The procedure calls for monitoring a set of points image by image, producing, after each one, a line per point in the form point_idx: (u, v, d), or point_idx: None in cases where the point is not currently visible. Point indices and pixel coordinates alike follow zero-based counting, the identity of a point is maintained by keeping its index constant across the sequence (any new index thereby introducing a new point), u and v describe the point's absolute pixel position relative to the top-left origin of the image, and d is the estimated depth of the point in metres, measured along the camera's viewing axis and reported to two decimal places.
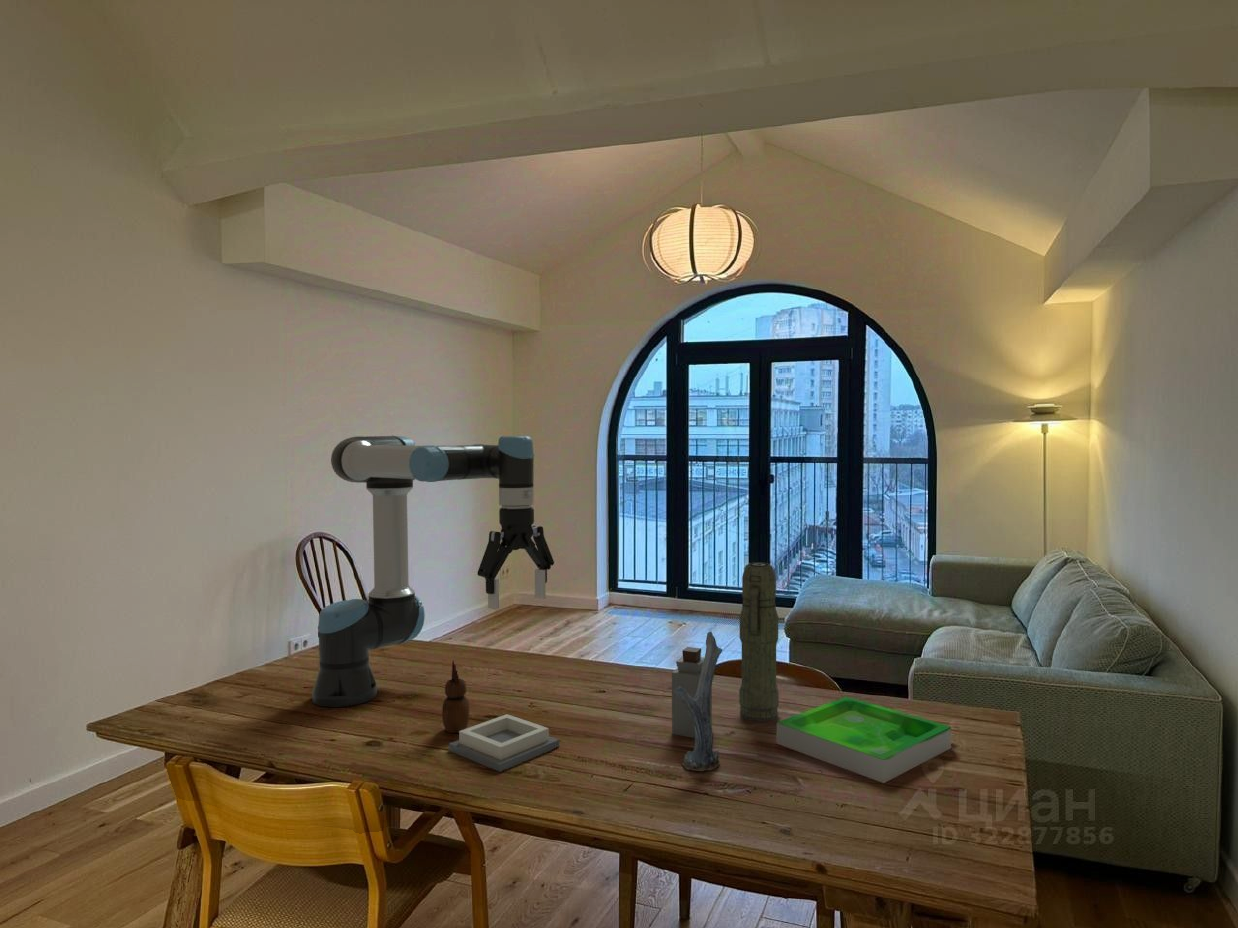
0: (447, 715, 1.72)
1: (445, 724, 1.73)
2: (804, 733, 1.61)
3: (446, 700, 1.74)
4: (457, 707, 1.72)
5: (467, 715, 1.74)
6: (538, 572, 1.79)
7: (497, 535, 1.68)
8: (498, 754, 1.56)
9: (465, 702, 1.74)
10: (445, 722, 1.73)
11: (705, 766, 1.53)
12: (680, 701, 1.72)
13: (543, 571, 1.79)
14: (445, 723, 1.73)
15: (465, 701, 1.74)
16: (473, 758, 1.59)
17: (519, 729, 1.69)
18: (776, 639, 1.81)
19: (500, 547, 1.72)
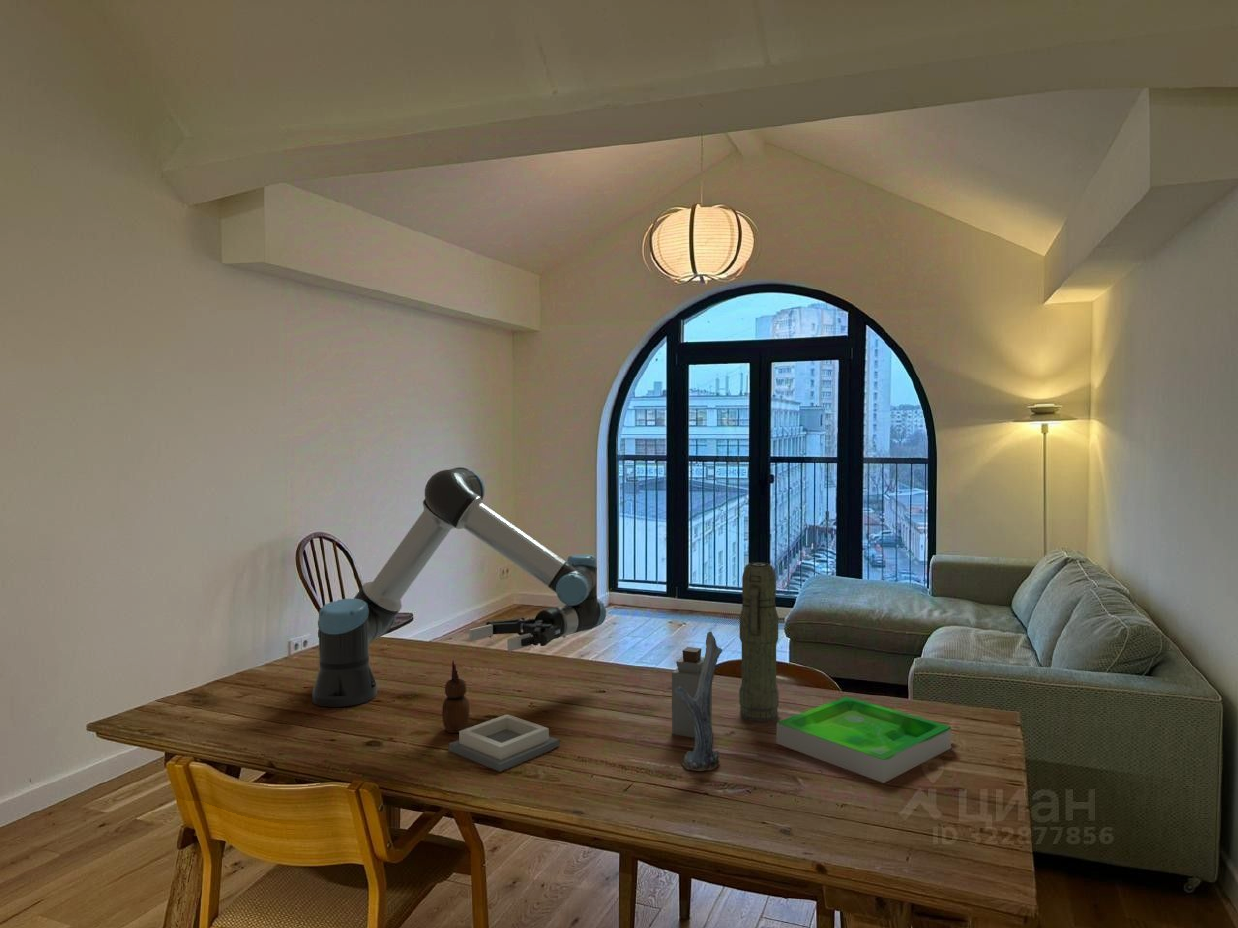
0: (447, 715, 1.72)
1: (445, 724, 1.73)
2: (804, 733, 1.61)
3: (446, 700, 1.74)
4: (457, 707, 1.72)
5: (467, 715, 1.74)
6: (490, 630, 1.90)
7: None
8: (498, 754, 1.56)
9: (465, 702, 1.74)
10: (445, 722, 1.73)
11: (705, 766, 1.53)
12: (680, 701, 1.72)
13: (491, 635, 1.91)
14: (445, 723, 1.73)
15: (465, 701, 1.74)
16: (473, 758, 1.59)
17: (519, 729, 1.69)
18: (776, 639, 1.81)
19: (541, 627, 1.89)
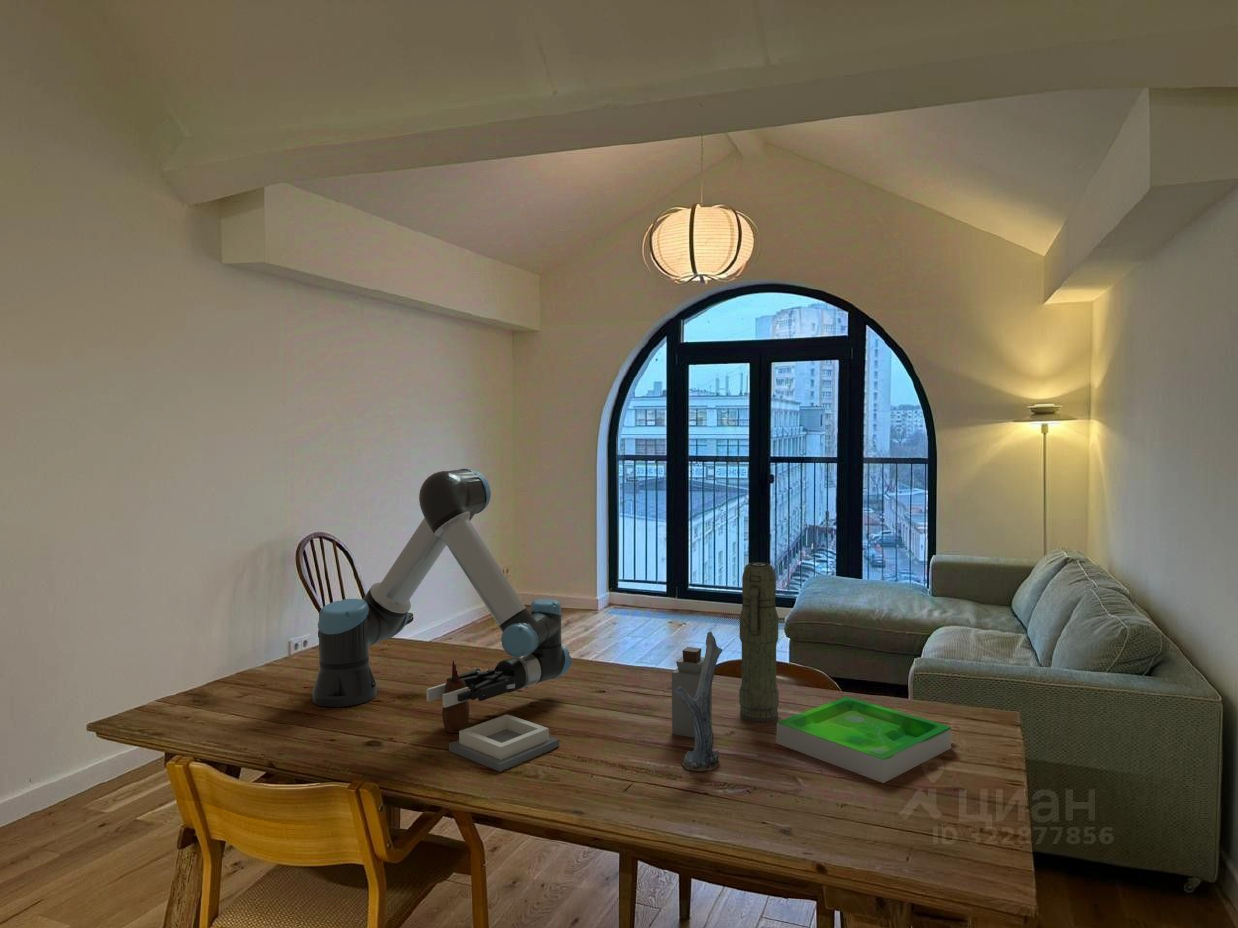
0: (447, 715, 1.72)
1: (445, 724, 1.73)
2: (804, 733, 1.61)
3: None
4: (457, 707, 1.72)
5: (467, 715, 1.74)
6: None
7: None
8: (498, 754, 1.56)
9: (465, 702, 1.74)
10: (445, 722, 1.73)
11: (705, 766, 1.53)
12: (680, 701, 1.72)
13: None
14: (445, 723, 1.73)
15: (465, 701, 1.74)
16: (473, 758, 1.59)
17: (519, 729, 1.69)
18: (776, 639, 1.81)
19: (493, 680, 1.80)
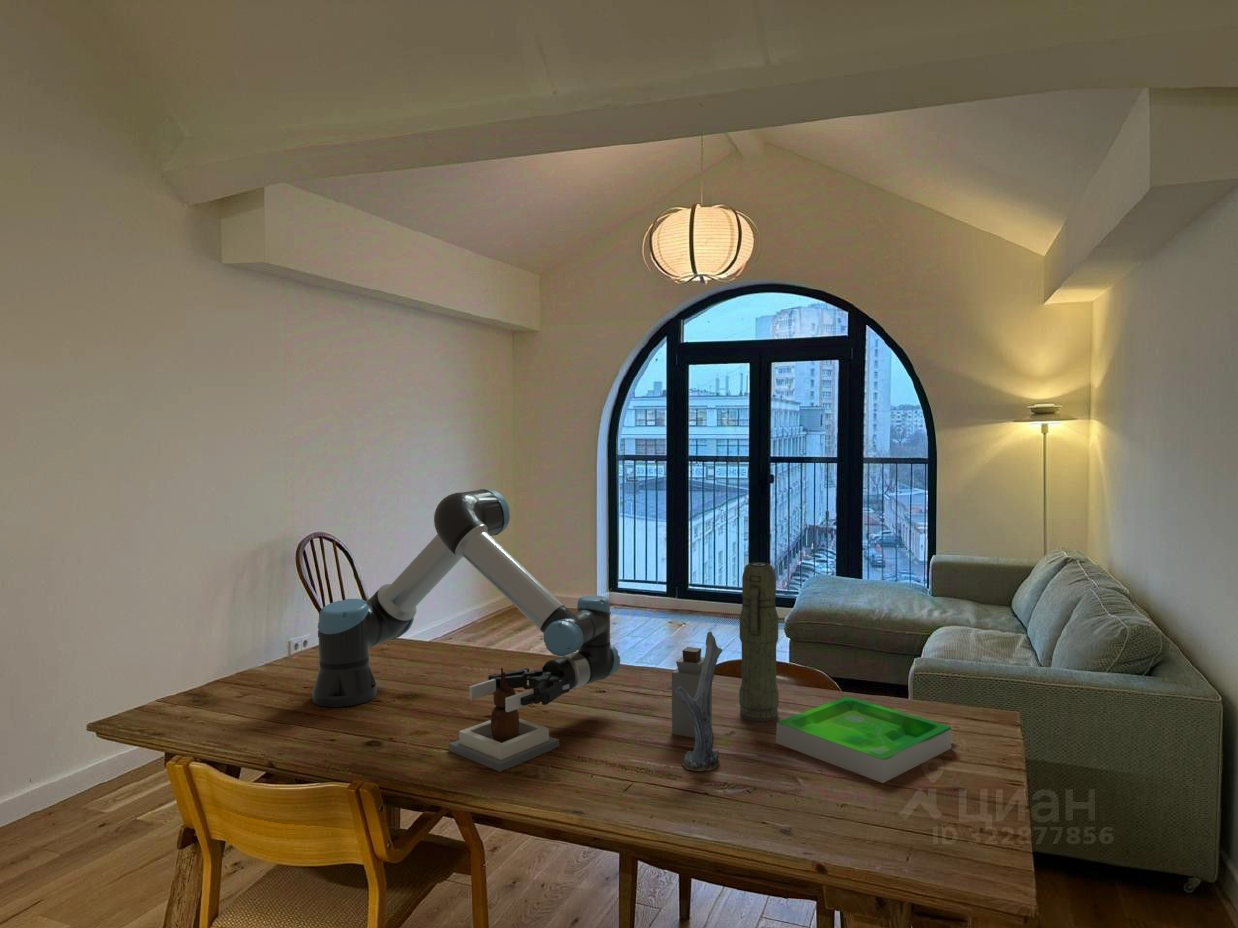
0: (496, 726, 1.61)
1: (494, 735, 1.62)
2: (804, 733, 1.61)
3: (495, 710, 1.63)
4: (507, 718, 1.61)
5: (517, 726, 1.63)
6: (493, 686, 1.69)
7: None
8: (498, 754, 1.56)
9: (515, 712, 1.63)
10: (494, 733, 1.62)
11: (705, 766, 1.53)
12: (680, 701, 1.72)
13: None
14: (494, 734, 1.62)
15: (515, 710, 1.64)
16: (473, 758, 1.59)
17: (519, 729, 1.69)
18: (776, 639, 1.81)
19: (547, 682, 1.69)
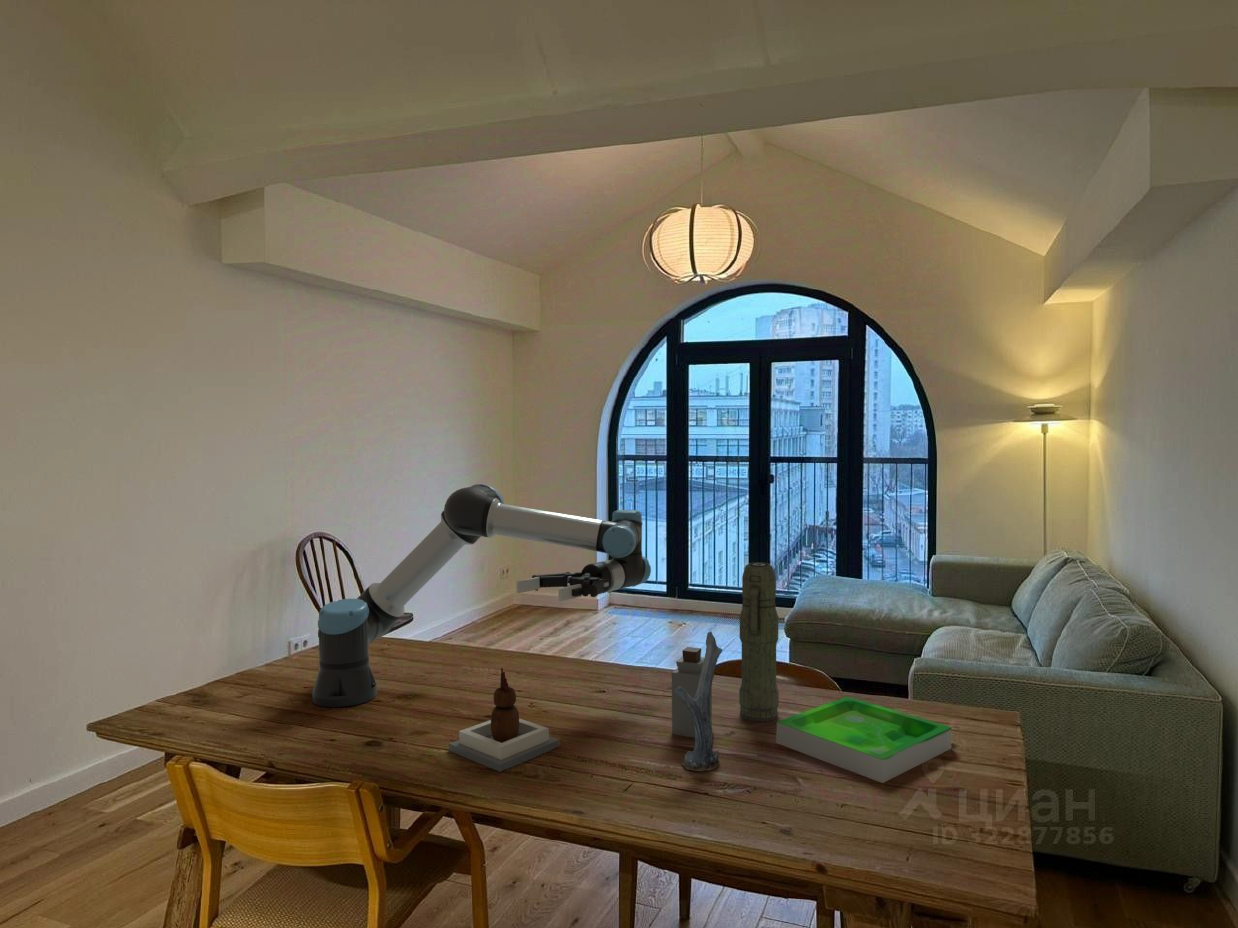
0: (496, 726, 1.61)
1: (494, 735, 1.62)
2: (804, 732, 1.62)
3: (495, 710, 1.63)
4: (507, 718, 1.61)
5: (517, 726, 1.63)
6: (537, 583, 1.87)
7: (606, 589, 1.86)
8: (498, 754, 1.56)
9: (515, 712, 1.63)
10: (494, 733, 1.62)
11: (705, 766, 1.53)
12: (680, 701, 1.72)
13: (538, 588, 1.87)
14: (494, 734, 1.62)
15: (515, 710, 1.64)
16: (473, 758, 1.59)
17: (519, 729, 1.69)
18: (776, 639, 1.81)
19: (589, 580, 1.85)
